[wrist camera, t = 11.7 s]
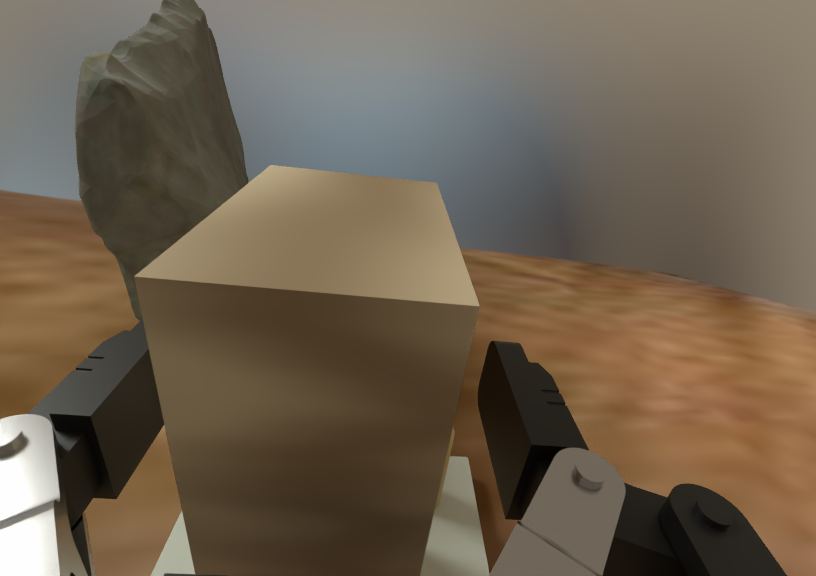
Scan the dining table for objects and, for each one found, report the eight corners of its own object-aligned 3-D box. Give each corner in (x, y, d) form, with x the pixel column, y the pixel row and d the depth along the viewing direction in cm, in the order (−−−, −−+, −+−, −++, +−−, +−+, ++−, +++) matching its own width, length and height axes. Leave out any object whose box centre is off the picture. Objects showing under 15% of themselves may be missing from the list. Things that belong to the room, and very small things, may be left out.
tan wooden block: (230, 748, 11) (134, 276, 5) (283, 528, 17) (270, 165, 10) (381, 749, 12) (479, 306, 5) (385, 533, 17) (436, 182, 10)
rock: (268, 428, 22) (243, -42, 13) (131, 449, 20) (-13, -90, 11) (257, 238, 44) (244, 12, 35) (190, 239, 42) (158, -1, 33)
